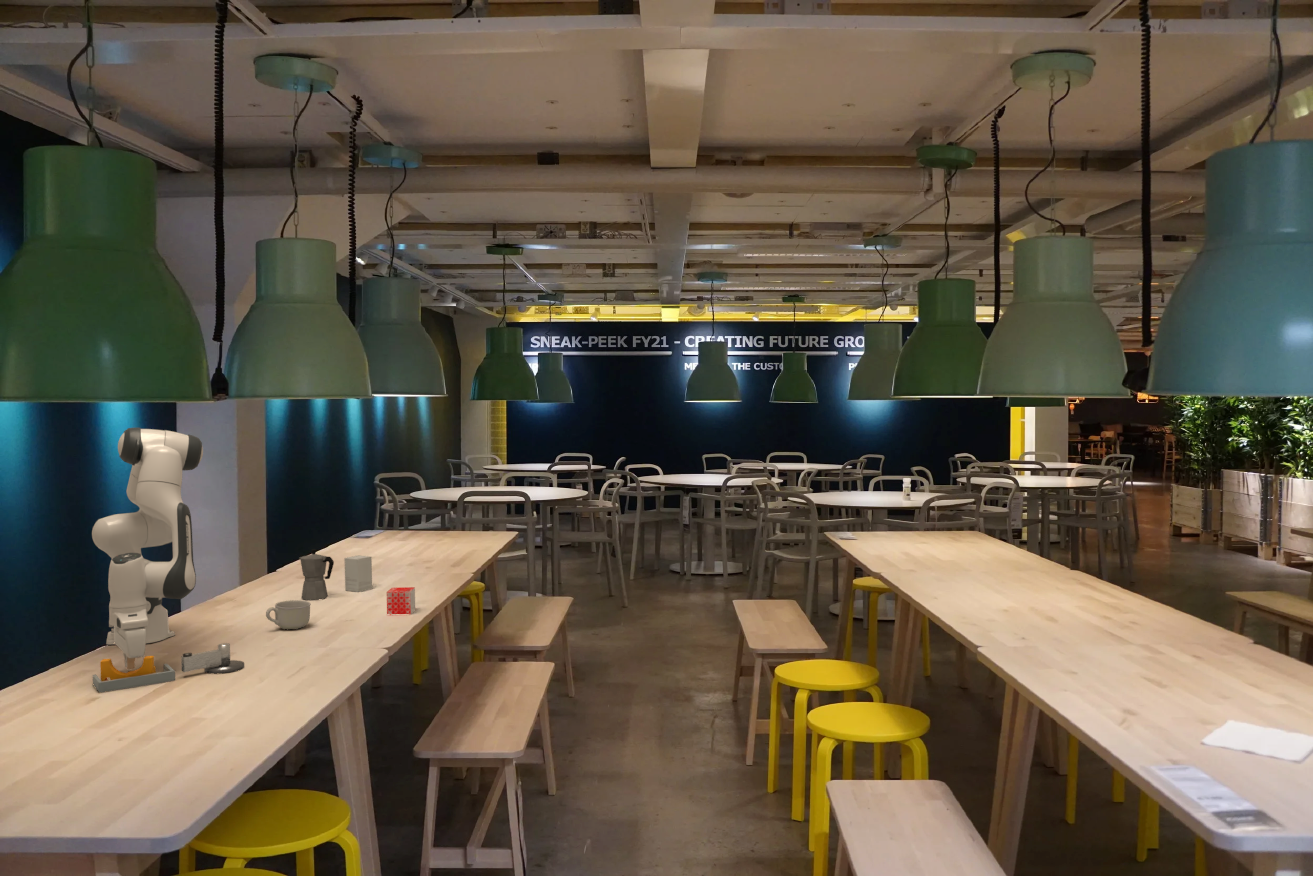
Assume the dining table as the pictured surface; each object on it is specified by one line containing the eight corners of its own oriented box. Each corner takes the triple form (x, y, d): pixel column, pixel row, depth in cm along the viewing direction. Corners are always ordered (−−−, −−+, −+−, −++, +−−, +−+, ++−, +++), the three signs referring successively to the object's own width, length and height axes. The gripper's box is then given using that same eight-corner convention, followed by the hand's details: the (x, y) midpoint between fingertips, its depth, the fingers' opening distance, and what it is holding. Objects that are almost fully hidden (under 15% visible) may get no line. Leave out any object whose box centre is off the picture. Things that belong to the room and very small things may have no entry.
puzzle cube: (392, 610, 352) (391, 587, 351) (415, 610, 352) (414, 587, 351) (386, 615, 344) (386, 592, 343) (410, 615, 344) (410, 591, 344)
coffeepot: (291, 599, 372) (290, 550, 371) (309, 594, 381) (308, 546, 380) (325, 602, 366) (324, 552, 365) (342, 597, 375) (341, 548, 374)
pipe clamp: (155, 678, 269) (155, 654, 268) (152, 682, 265) (151, 658, 264) (105, 682, 266) (104, 657, 265) (101, 686, 261) (100, 661, 261)
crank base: (200, 668, 278) (200, 663, 278) (238, 662, 284) (238, 657, 284) (209, 675, 270) (209, 671, 270) (249, 669, 276) (248, 665, 276)
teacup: (305, 622, 333) (305, 598, 333) (315, 628, 324) (314, 603, 324) (261, 628, 325) (260, 603, 325) (269, 635, 316) (269, 609, 316)
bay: (92, 684, 263) (92, 674, 263) (167, 672, 273) (166, 663, 273) (99, 692, 255) (98, 683, 255) (175, 680, 266) (175, 671, 266)
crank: (227, 662, 279) (226, 642, 279) (232, 664, 277) (231, 644, 277) (180, 671, 270) (180, 651, 270) (185, 673, 268) (184, 653, 268)
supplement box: (373, 589, 390) (372, 556, 390) (357, 592, 384) (357, 559, 383) (359, 587, 394) (358, 554, 394) (344, 590, 388) (343, 557, 387)
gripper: (107, 611, 274) (109, 662, 275) (122, 624, 258) (123, 678, 258) (133, 608, 278) (135, 658, 278) (149, 620, 262) (151, 674, 262)
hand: (129, 668), depth 268 cm, fingers closed
